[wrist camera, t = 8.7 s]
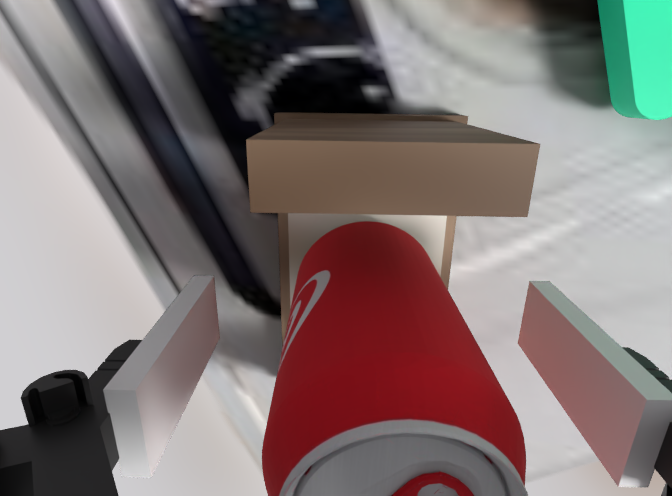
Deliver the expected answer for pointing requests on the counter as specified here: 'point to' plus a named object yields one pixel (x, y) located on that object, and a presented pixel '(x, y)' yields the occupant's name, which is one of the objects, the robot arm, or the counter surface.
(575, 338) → the robot arm
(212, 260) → the counter surface
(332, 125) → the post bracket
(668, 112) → the camera mount
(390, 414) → the beverage can
